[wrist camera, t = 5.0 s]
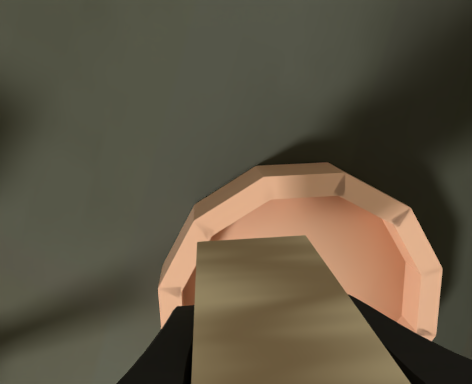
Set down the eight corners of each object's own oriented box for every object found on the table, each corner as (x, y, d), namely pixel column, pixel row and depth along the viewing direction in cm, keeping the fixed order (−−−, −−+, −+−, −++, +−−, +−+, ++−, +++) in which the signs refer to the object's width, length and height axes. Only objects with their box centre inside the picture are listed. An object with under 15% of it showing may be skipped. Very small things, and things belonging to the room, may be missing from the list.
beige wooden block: (305, 235, 13) (451, 439, 5) (304, 331, 14) (429, 625, 6) (197, 241, 13) (187, 464, 5) (203, 338, 14) (203, 654, 6)
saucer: (422, 157, 20) (452, 167, 18) (404, 382, 23) (427, 417, 21) (154, 170, 19) (148, 182, 17) (174, 403, 22) (171, 442, 20)
